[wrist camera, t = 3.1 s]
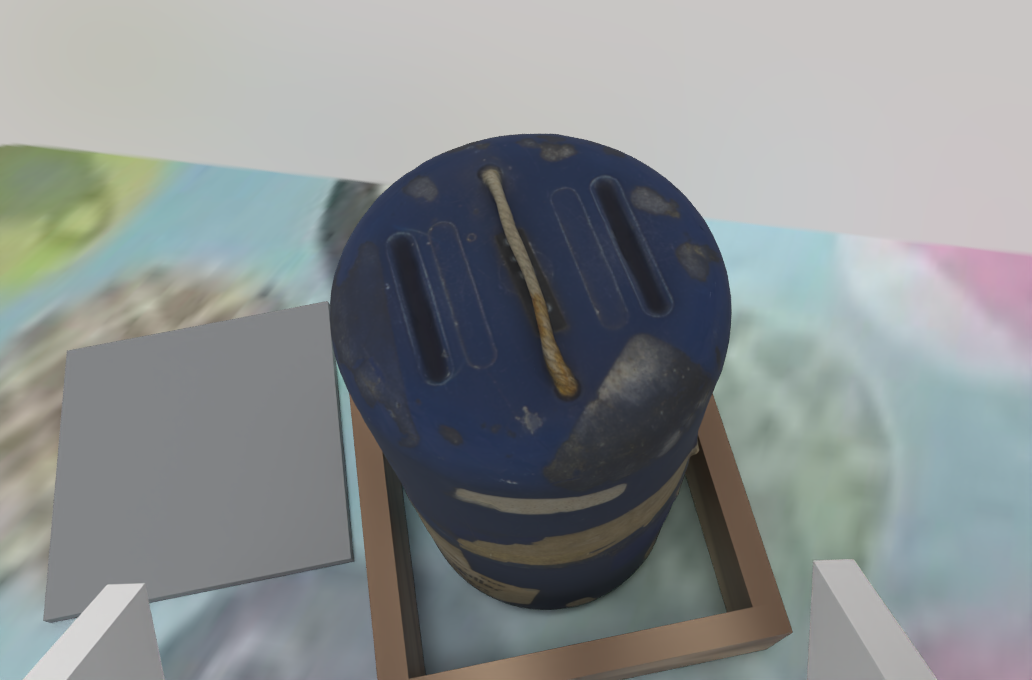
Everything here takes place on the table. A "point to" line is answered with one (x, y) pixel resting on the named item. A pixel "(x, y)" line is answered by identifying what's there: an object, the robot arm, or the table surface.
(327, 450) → the mat
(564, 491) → the canister
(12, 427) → the table surface
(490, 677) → the holder
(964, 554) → the table surface
